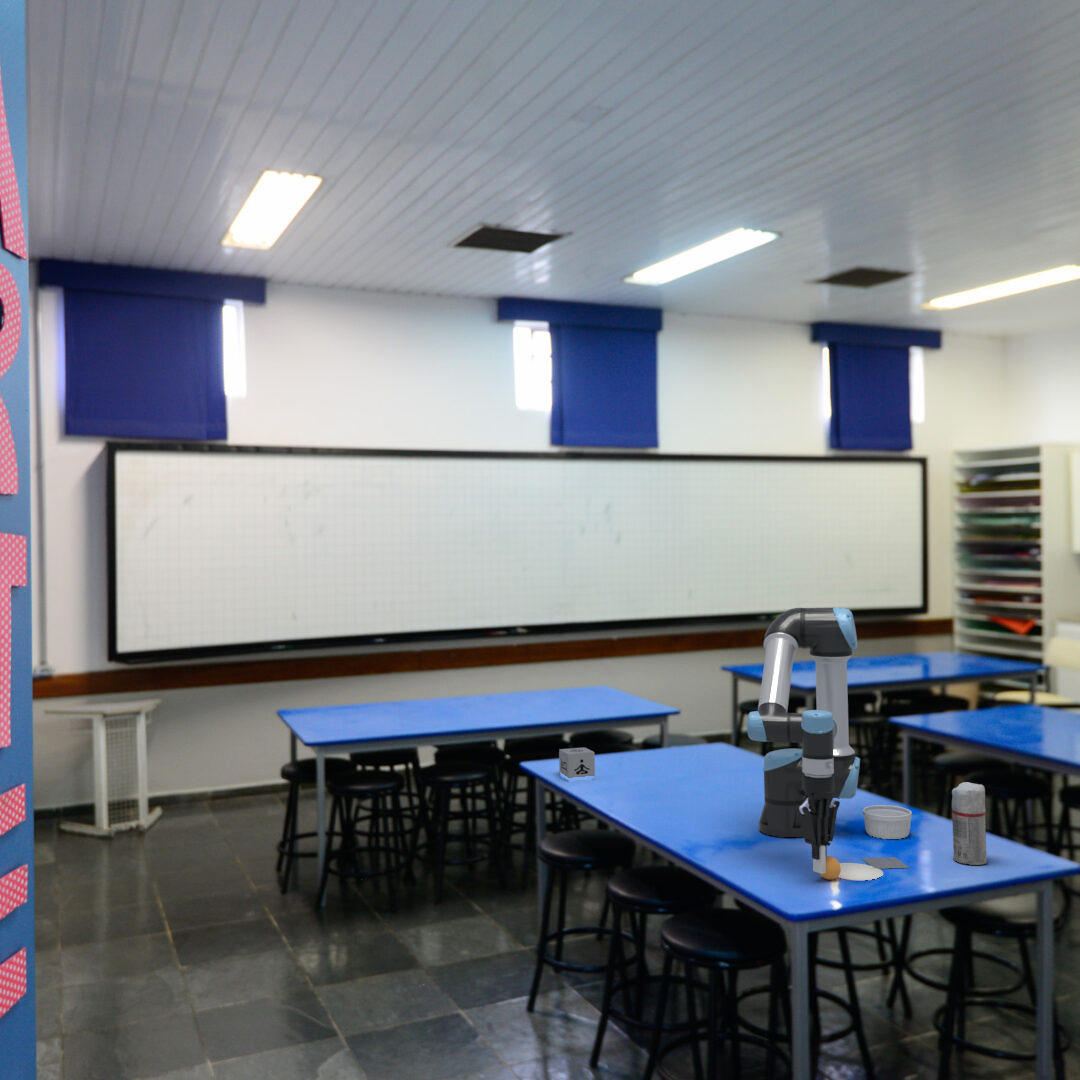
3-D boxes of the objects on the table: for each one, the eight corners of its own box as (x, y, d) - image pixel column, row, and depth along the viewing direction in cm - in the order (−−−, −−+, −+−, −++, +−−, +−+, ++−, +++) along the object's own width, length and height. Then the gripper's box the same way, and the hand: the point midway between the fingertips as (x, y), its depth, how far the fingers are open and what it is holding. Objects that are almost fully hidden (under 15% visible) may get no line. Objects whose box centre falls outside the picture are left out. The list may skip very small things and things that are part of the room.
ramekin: (880, 843, 280) (880, 818, 280) (853, 831, 293) (853, 807, 293) (922, 839, 284) (921, 814, 284) (893, 827, 296) (893, 803, 296)
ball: (813, 875, 252) (823, 856, 254) (834, 887, 249) (844, 868, 251) (813, 867, 247) (823, 848, 250) (834, 879, 245) (844, 860, 247)
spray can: (988, 867, 256) (986, 788, 257) (953, 864, 259) (951, 786, 260) (986, 858, 264) (985, 781, 264) (952, 855, 267) (951, 779, 267)
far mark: (861, 859, 265) (861, 858, 265) (895, 857, 266) (895, 857, 266) (874, 869, 256) (874, 868, 256) (909, 868, 257) (909, 867, 257)
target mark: (830, 861, 264) (830, 860, 264) (887, 867, 258) (887, 866, 258) (819, 876, 251) (819, 875, 251) (878, 883, 245) (878, 882, 245)
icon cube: (559, 776, 372) (559, 749, 372) (585, 774, 375) (584, 747, 375) (568, 782, 363) (568, 754, 363) (594, 780, 366) (594, 752, 366)
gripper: (811, 780, 242) (812, 880, 241) (848, 774, 249) (849, 871, 248) (788, 775, 248) (789, 872, 247) (824, 769, 255) (825, 864, 254)
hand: (819, 871), depth 247 cm, fingers closed
